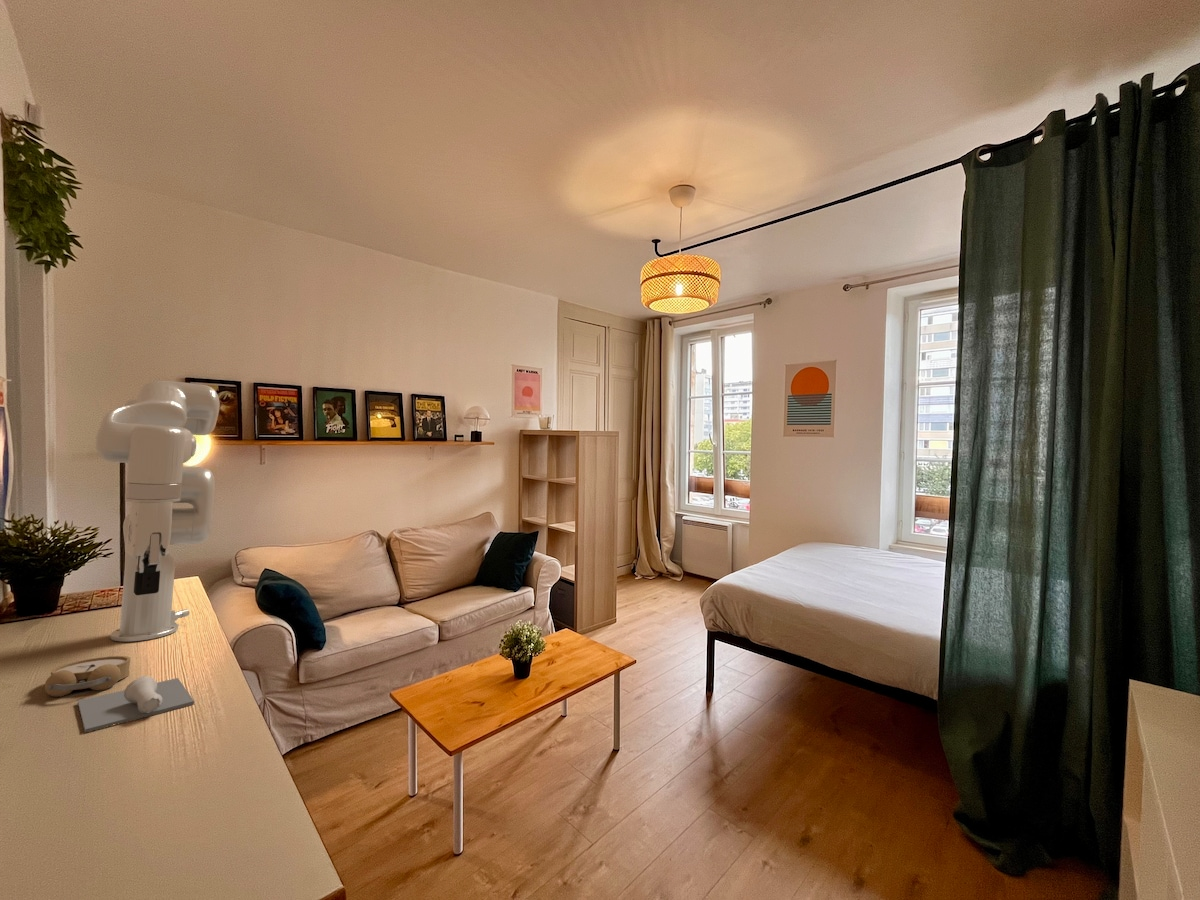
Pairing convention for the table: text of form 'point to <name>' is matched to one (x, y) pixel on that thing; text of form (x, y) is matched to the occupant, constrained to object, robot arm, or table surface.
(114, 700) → the mat
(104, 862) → the table surface
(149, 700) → the rook chess piece
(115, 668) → the alarm clock
